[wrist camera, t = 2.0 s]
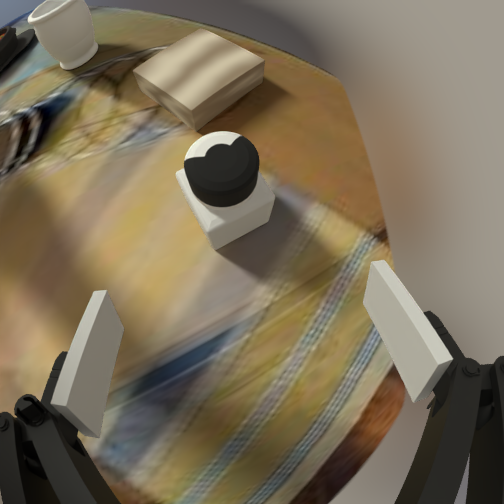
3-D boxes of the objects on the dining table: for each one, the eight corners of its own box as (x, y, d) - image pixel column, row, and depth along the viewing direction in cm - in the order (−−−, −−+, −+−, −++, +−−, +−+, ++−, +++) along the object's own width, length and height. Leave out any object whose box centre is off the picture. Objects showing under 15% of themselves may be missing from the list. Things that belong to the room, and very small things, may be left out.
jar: (50, 67, 40) (20, 18, 25) (88, 36, 42) (66, -14, 27) (70, 80, 38) (37, 24, 24) (113, 46, 40) (90, -13, 26)
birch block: (141, 92, 38) (132, 70, 33) (203, 50, 40) (201, 28, 35) (196, 133, 36) (191, 110, 32) (262, 83, 39) (264, 60, 34)
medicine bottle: (270, 221, 34) (284, 172, 22) (214, 251, 33) (200, 215, 21) (239, 172, 35) (239, 109, 23) (185, 199, 34) (162, 144, 22)
